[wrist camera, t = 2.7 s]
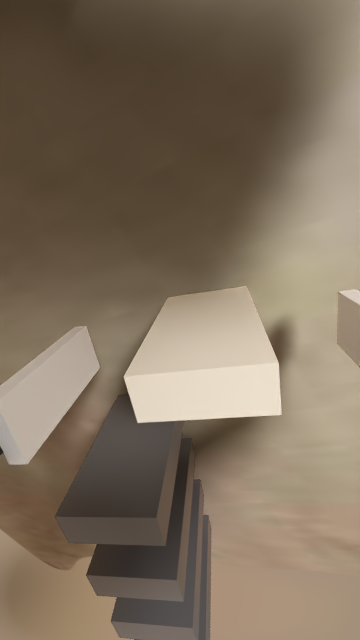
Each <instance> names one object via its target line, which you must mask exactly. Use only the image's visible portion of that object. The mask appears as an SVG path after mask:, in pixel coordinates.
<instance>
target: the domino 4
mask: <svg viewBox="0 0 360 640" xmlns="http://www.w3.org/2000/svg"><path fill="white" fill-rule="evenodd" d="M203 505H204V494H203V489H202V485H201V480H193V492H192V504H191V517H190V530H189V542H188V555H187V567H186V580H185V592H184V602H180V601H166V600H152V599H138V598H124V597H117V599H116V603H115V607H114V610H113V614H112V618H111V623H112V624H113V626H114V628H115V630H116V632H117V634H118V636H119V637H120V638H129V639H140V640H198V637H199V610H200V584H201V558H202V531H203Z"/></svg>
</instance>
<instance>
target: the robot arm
mask: <svg viewBox="0 0 360 640" xmlns="http://www.w3.org/2000/svg"><path fill="white" fill-rule="evenodd" d="M337 344H338V345H339V346H340V347H341V348H342V349H343V350H344V352H345V353H346V354H347V355H348V356H349V357H350V358H351V359H352V360H353V361H354V362H355V363H356V364H357V365H358V366H359V367H360V291H358V290H356V289H355V290H348V291H340V292H338V313H337ZM99 369H100V366H99V363H98V360H97V357H96V354H95V351H94V348H93V345H92V342H91V339H90V336H89V333H88V330H87V327H86V326H80V327H74V328H72V329H71V330H70V331H69V332H67V333H66V334H65V335H64V336H62V337H61V338H60V339H58V340H57V341H56V342H55V343H53V344H52V345H51V346H50V347H48V348H47V349H46V350H45V351H43V352H42V353H41V354H40V355H38V356H37V357H36V358H35V359H33V360H32V361H31V362H29V363H28V364H27V365H26V366H24V367H23V368H22V369H21V370H19V371H18V372H17V373H16V374H14V375H13V376H12V377H11V378H9V379H8V380H7V381H5V382H4V383H3V384H2V385H0V455H1V454H2V453H3V454H4V456H5V458H6V459H7V461H8V463H9V465H20V464H28V463H29V462H30V460H31V459H32V458H33V456H34V455H35V454H36V452H37V451H38V450H39V448H40V447H41V446H42V444H43V443H44V442H45V440H46V439H47V438H48V436H49V435H50V434H51V432H52V431H53V430H54V428H55V427H56V426H57V424H58V423H59V422H60V420H61V419H62V418H63V416H64V415H65V414H66V412H67V411H68V410H69V408H70V407H71V406H72V404H73V403H74V402H75V400H76V399H77V398H78V396H79V395H80V394H81V392H82V391H83V390H84V388H85V387H86V386H87V384H88V383H89V382H90V380H91V379H92V378H93V376H94V375H95V374H96V373H97V371H98V370H99Z"/></svg>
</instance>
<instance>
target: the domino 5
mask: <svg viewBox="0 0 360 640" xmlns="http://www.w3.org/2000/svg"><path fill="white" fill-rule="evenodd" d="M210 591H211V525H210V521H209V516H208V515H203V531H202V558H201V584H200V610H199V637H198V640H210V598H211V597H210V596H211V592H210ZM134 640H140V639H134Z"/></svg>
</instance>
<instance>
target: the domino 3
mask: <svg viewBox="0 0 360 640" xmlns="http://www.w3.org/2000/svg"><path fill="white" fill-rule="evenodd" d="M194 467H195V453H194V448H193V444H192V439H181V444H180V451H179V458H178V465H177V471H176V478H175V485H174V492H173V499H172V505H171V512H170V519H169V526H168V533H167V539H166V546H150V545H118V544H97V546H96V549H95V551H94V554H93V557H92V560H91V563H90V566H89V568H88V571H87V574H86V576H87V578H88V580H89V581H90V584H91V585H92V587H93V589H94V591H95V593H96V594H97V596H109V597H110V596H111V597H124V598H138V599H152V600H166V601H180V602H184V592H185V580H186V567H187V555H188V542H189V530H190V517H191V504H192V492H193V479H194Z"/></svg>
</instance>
